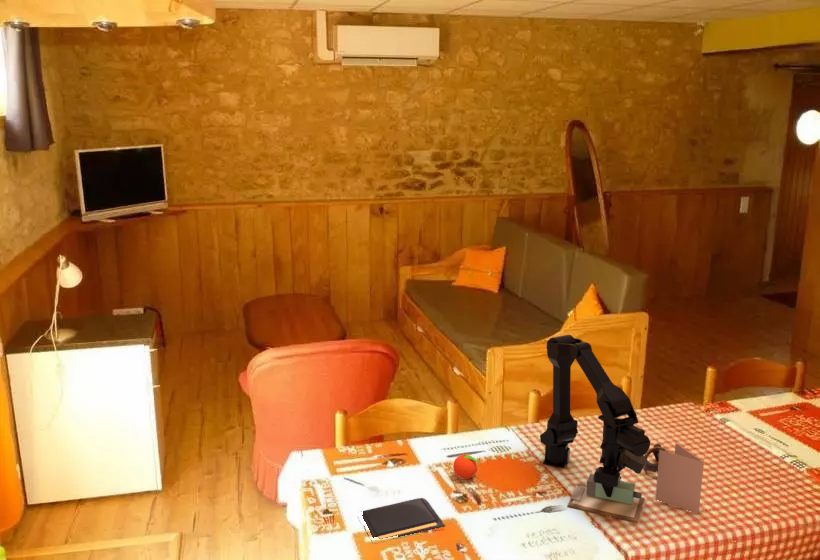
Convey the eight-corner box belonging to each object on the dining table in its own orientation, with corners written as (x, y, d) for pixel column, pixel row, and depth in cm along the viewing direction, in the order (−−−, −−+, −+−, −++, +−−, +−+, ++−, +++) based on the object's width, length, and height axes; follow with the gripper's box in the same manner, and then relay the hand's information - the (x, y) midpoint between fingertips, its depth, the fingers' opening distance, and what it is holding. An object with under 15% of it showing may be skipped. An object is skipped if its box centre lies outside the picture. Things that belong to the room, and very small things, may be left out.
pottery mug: (685, 480, 204) (676, 461, 201) (653, 491, 207) (644, 472, 203) (673, 451, 215) (664, 432, 211) (643, 461, 217) (634, 443, 214)
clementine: (483, 475, 208) (484, 452, 206) (475, 486, 201) (476, 463, 200) (458, 469, 211) (458, 447, 209) (449, 480, 205) (449, 458, 203)
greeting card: (701, 513, 187) (706, 461, 183) (677, 518, 185) (681, 466, 181) (674, 491, 197) (678, 442, 194) (650, 496, 195) (654, 446, 192)
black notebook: (425, 493, 196) (446, 523, 182) (425, 499, 196) (446, 529, 182) (354, 508, 189) (371, 539, 175) (354, 514, 190) (371, 546, 176)
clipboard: (567, 506, 191) (567, 502, 190) (577, 485, 201) (577, 481, 201) (637, 522, 183) (637, 518, 183) (644, 499, 194) (644, 495, 193)
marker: (586, 494, 194) (586, 480, 193) (589, 487, 198) (590, 474, 197) (639, 506, 188) (640, 492, 187) (642, 498, 192) (643, 485, 191)
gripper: (639, 461, 178) (635, 517, 181) (650, 431, 194) (646, 483, 198) (594, 452, 182) (591, 507, 186) (608, 423, 199) (605, 474, 202)
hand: (610, 492), depth 193 cm, fingers closed on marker, 4 cm apart
